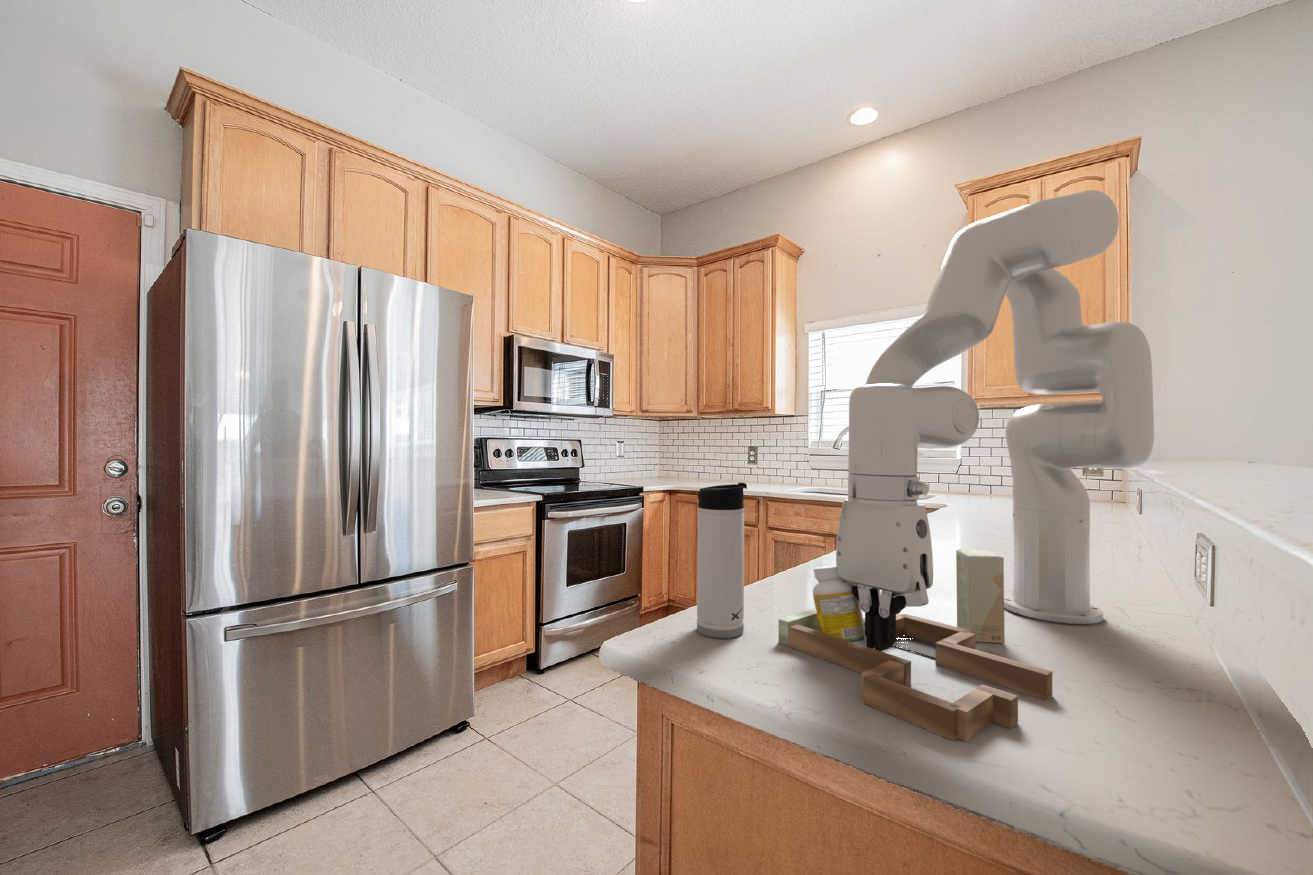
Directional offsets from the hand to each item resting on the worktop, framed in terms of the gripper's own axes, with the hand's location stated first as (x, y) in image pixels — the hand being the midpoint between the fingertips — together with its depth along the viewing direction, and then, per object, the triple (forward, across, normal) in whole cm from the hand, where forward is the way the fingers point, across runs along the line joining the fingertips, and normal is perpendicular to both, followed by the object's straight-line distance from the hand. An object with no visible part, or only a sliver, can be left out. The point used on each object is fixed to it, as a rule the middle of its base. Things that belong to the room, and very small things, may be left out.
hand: (880, 646), depth 65 cm
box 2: (+2, -3, -18) cm, 19 cm away
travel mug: (+2, +18, +8) cm, 20 cm away
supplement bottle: (+1, +4, 0) cm, 4 cm away
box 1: (+2, -2, 0) cm, 3 cm away
